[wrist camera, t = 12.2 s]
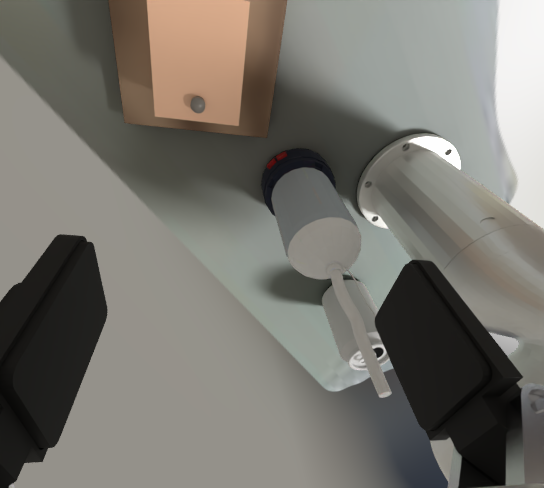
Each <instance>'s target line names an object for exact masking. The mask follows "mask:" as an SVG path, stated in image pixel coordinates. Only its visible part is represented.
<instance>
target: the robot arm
mask: <svg viewBox="0 0 544 488" xmlns="http://www.w3.org/2000/svg"><path fill="white" fill-rule="evenodd" d="M357 203H358V207H359V209H360V211H361V213H362V214H363V215H364V217H365V218H366V219H367V220H368V221H369V222H370V223H371V224H373V225H375V226H377V227H381V228H385V229H390V231H391V232H392V233H393V235H394V236H395V238H396V239H397V240H398V242H399V243H400V244H401V246H402V247H403V248H404V250H405V251H406V252H407V254H408V255H409V256H410V258H411V259H412V261H410V262H409V263H408V264H406V265H405V266H404V267H403V269H402V271H401V273H400V274H399V276H398V278H397V280H396V281H395V283H394V285H393V287H392V288H391V290H390V292H389V294H388V295H387V297H386V299H385V301H384V302H383V304H382V306H381V308H380V309H379V311H378V313H377V315H376V317H375V327H376V329H377V332H378V334H379V336H380V338H381V341H382V343H383V345H384V347H385V349H386V352H387V354H388V356H389V358H390V361H391V363H392V365H393V367H394V369H395V372H396V374H397V376H398V378H399V381H400V383H401V385H402V387H403V390H404V392H405V394H406V396H407V399H408V401H409V403H410V405H411V407H412V410H413V412H414V414H415V416H416V419H417V421H418V423H419V425H420V426H421V427H422V428H423V429H424V430H425V431H426V433H427V435H428V437H429V439H430V443H431V447H432V450H433V453H434V455H435V458H436V460H437V462H438V464H439V466H440V468H441V470H442V472H443V474H444V475H445V477H446V479H447V480H448V482H449V483H448V488H544V229H543V228H541V227H540V226H538V225H537V224H536V223H534V222H533V221H531V220H530V219H528V218H527V217H526V216H524V215H523V214H522V213H520V212H519V211H518V210H516V209H515V208H513V207H512V206H511V205H509V204H508V203H506V202H505V201H504V200H502V199H501V198H499V197H498V196H497V195H495V194H494V193H492V192H491V191H490V190H488V189H487V188H486V187H484V186H483V185H482V184H480V183H479V182H477V181H476V180H474V179H473V178H472V177H470V176H469V175H467V174H466V173H465V172H463V171H462V170H460V158H459V154H458V152H457V150H456V148H455V147H454V146H453V145H452V144H451V143H450V142H449V141H447V140H445V139H444V138H442V137H440V136H437V135H435V134H428V133H421V134H413V135H410V136H406V137H403V138H401V139H399V140H397V141H394V142H393V143H391V144H390V145H388V146H387V147H385V148H384V149H383V150H381V151H380V152H379V153H378V154H377V155H376V156H375V157H374V158H373V159H372V160H371V162H370V163H369V164H368V165H367V167H366V169H365V170H364V172H363V173H362V176H361V178H360V181H359V183H358V188H357ZM106 318H107V305H106V300H105V295H104V291H103V286H102V282H101V277H100V272H99V267H98V263H97V258H96V253H95V249H94V245H93V243H92V242H87V240H86V238H85V237H83V236H75V235H57V236H56V237H55V238H54V240H53V241H52V243H51V244H50V245H49V247H48V248H47V249H46V251H45V252H44V253H43V255H42V256H41V257H40V259H39V260H38V261H37V263H36V264H35V265H34V267H33V268H32V269H31V271H30V272H29V273H28V275H27V276H26V278H25V279H24V280H23V281H22V283H18V284H16V285H14V286H13V287H12V288H11V289H10V290H9V291H8V293H7V294H6V296H4V298H3V299H2V300H1V302H0V488H15V487H14V484H13V483H14V482H15V481H16V480H17V478H18V476H19V474H20V471H21V469H22V467H23V465H24V463H30V462H43V459H44V457H45V454H46V452H47V449H48V448H52V447H54V446H55V445H56V444H57V442H58V441H59V438H60V436H61V433H62V431H63V428H64V425H65V423H66V421H67V418H68V415H69V413H70V411H71V408H72V405H73V403H74V400H75V397H76V395H77V392H78V390H79V388H80V385H81V383H82V380H83V377H84V374H85V372H86V370H87V367H88V365H89V362H90V360H91V357H92V354H93V352H94V349H95V347H96V344H97V342H98V339H99V337H100V334H101V332H102V329H103V326H104V324H105V321H106ZM489 332H490V333H494V334H498V335H502V336H507V337H512V338H515V339H516V340H518V342H519V345H518V348H517V349H516V350H515V351H514V352H513V353H511V354H510V355H509V356H507V355H506V354H505V353H504V352H503V351H502V349H501V348H500V347H499V345H498V344H497V343H496V342H495V340H494V339H493V338H492V336H491V335H490V334H489Z"/></svg>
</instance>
